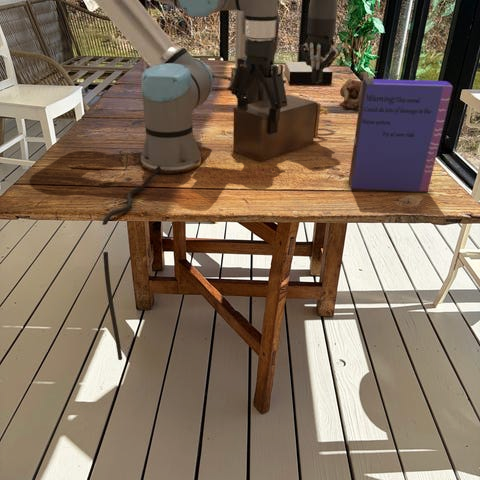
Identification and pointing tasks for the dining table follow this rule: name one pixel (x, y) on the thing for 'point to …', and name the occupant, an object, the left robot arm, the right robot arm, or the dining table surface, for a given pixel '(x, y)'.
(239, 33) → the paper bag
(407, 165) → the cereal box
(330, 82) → the disc drive
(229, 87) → the figurine
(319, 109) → the drawer
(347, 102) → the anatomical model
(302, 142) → the cabinet
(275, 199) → the dining table surface
